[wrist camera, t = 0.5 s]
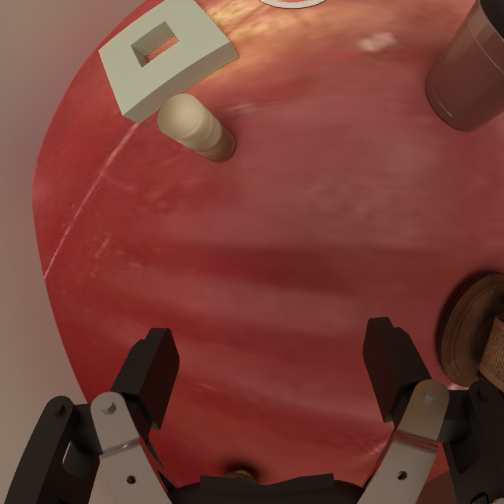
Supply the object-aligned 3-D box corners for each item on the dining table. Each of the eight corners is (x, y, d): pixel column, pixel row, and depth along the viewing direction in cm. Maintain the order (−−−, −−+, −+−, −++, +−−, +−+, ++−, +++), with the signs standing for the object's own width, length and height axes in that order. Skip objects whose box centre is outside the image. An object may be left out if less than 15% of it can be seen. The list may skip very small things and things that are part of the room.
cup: (212, 466, 37) (195, 498, 29) (243, 453, 35) (228, 489, 27) (243, 489, 36) (230, 521, 28) (275, 477, 34) (266, 513, 27)
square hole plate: (193, 3, 31) (183, -11, 27) (239, 57, 30) (230, 41, 27) (112, 60, 35) (98, 50, 31) (139, 124, 34) (122, 115, 30)
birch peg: (226, 124, 32) (188, 85, 21) (242, 151, 31) (207, 117, 21) (198, 142, 33) (151, 111, 22) (213, 169, 32) (167, 145, 22)
